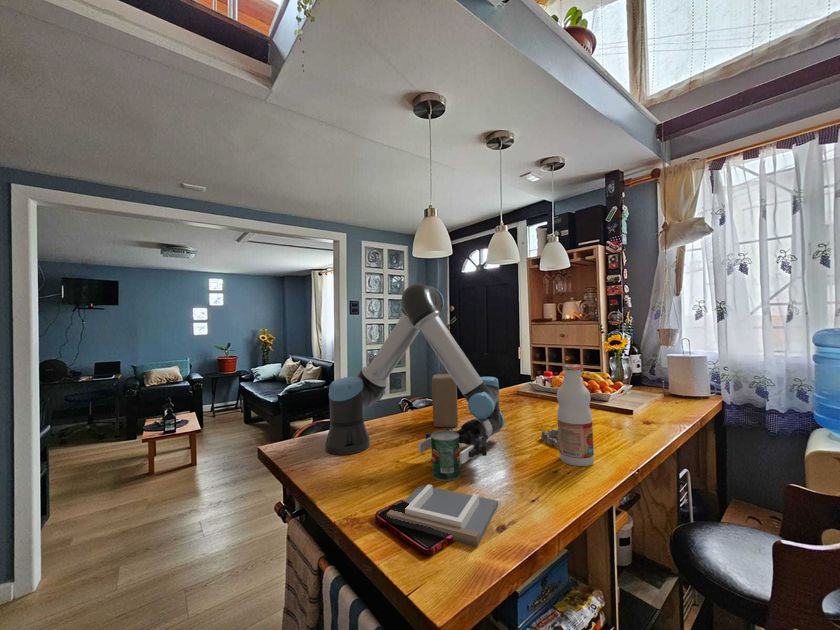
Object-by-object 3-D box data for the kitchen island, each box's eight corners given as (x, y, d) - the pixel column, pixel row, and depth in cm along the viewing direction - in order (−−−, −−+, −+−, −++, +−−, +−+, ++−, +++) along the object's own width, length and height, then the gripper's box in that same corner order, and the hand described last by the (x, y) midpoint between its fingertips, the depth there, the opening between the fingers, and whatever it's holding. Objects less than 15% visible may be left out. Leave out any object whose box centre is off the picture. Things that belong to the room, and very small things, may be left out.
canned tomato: (427, 472, 97) (425, 433, 97) (450, 466, 100) (449, 428, 101) (441, 484, 90) (439, 441, 90) (466, 476, 93) (464, 436, 94)
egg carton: (538, 439, 120) (537, 427, 121) (556, 437, 122) (556, 425, 122) (557, 450, 110) (556, 437, 110) (577, 447, 112) (576, 434, 112)
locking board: (386, 522, 73) (386, 508, 73) (420, 488, 88) (420, 477, 88) (477, 547, 64) (476, 531, 64) (498, 505, 79) (497, 492, 79)
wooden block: (458, 420, 146) (456, 373, 146) (458, 427, 136) (456, 377, 137) (434, 420, 147) (432, 374, 147) (433, 427, 137) (431, 377, 138)
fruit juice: (555, 453, 107) (551, 363, 107) (588, 454, 105) (583, 363, 106) (563, 466, 97) (559, 368, 98) (599, 467, 96) (594, 367, 96)
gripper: (513, 450, 102) (481, 478, 85) (443, 436, 117) (404, 457, 100) (512, 425, 102) (480, 448, 85) (442, 414, 117) (403, 431, 100)
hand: (439, 453), depth 93 cm, fingers open, 13 cm apart
